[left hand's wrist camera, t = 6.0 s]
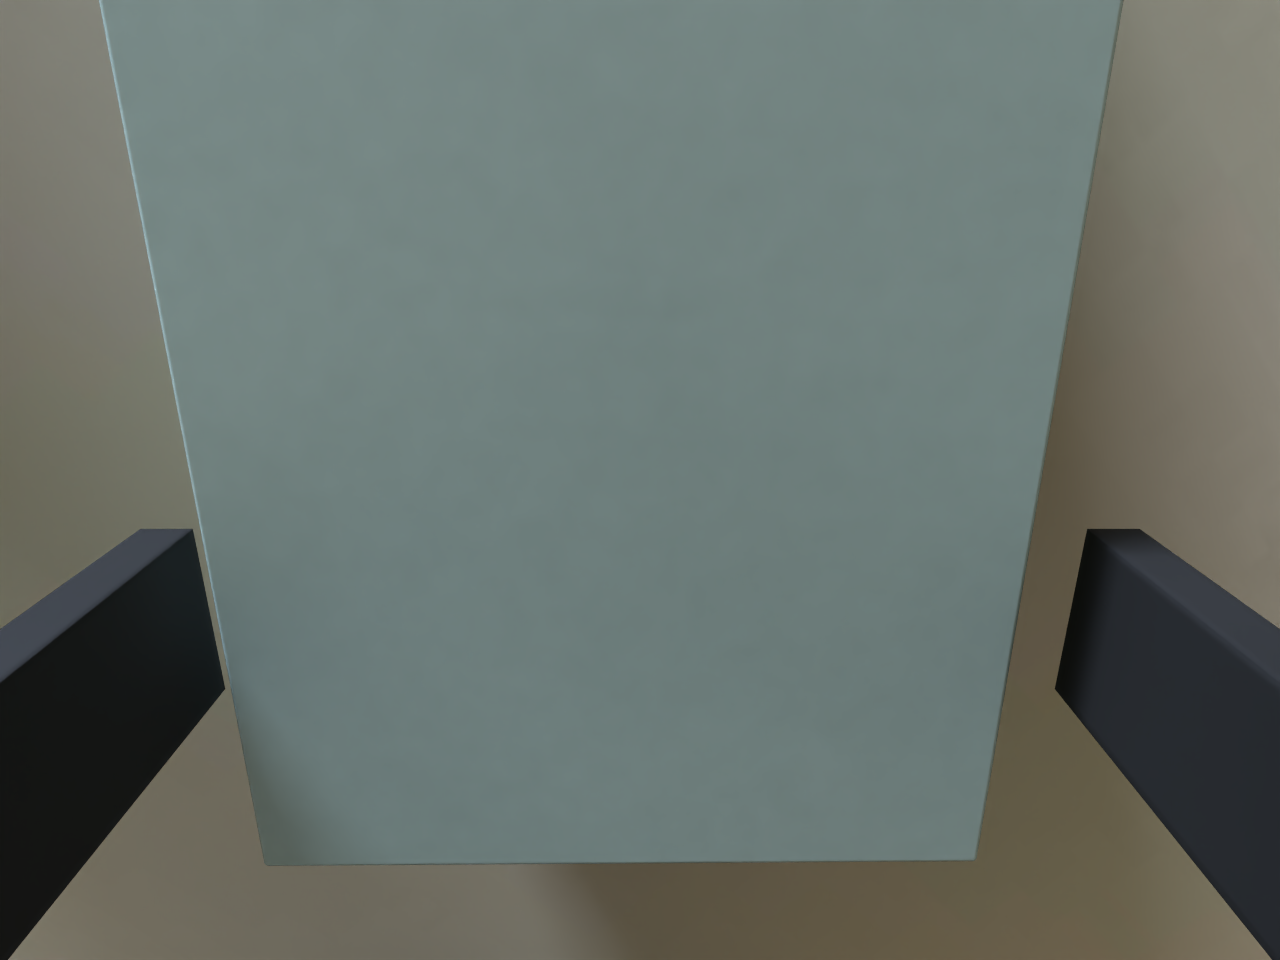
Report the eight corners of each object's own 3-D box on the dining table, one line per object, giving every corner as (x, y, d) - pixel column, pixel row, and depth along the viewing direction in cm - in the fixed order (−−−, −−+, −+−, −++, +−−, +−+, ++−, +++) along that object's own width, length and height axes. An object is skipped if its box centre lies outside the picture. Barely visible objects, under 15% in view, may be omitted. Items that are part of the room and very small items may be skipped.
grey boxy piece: (313, -296, 15) (-73, -874, 7) (924, -293, 15) (1274, -860, 7) (407, 600, 21) (263, 867, 13) (843, 599, 21) (977, 863, 13)
